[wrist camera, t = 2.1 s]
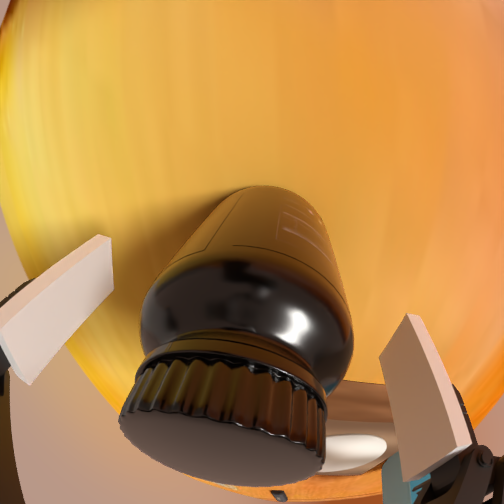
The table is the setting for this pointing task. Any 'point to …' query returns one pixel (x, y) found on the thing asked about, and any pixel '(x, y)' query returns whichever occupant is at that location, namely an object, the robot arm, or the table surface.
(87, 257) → the robot arm
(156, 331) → the supplement bottle
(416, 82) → the table surface
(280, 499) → the usb stick
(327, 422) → the base
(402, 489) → the light-blue rounded block
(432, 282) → the table surface
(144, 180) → the table surface
